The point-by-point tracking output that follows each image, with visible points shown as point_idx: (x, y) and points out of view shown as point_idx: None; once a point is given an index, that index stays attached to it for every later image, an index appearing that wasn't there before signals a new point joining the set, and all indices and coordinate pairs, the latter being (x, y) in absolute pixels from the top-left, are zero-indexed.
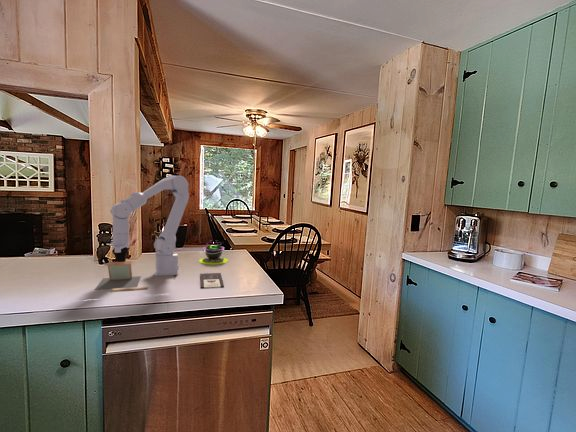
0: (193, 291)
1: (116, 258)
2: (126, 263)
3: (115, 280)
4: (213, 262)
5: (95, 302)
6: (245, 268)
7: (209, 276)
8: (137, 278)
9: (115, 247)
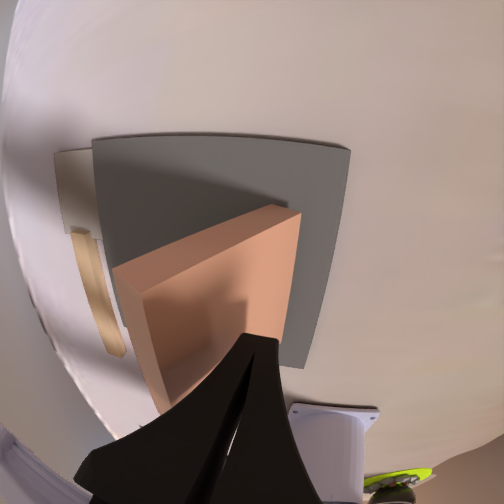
0: (121, 411)
1: (184, 402)
2: (158, 402)
3: None
4: (372, 483)
5: (18, 186)
6: None
7: None
8: None
9: (6, 482)
